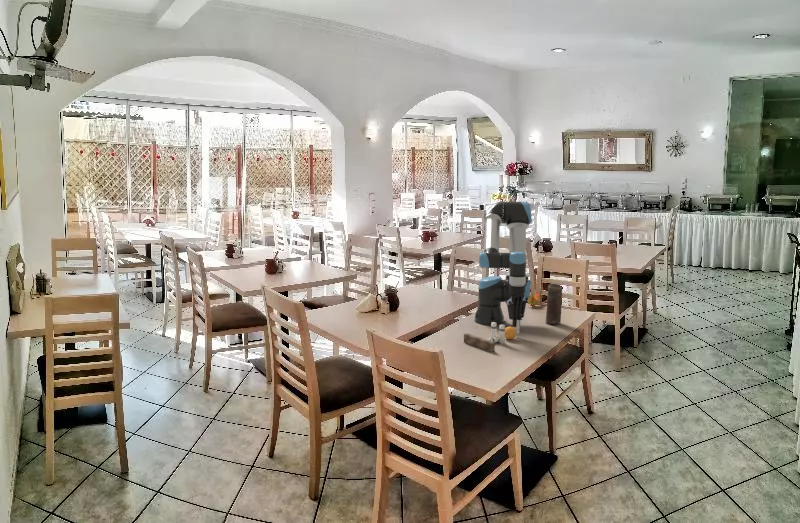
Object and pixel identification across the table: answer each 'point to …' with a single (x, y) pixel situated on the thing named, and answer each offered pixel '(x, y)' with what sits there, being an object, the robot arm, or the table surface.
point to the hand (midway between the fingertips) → (516, 333)
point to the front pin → (494, 339)
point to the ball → (510, 332)
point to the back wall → (479, 342)
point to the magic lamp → (534, 299)
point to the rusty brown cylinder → (554, 304)
